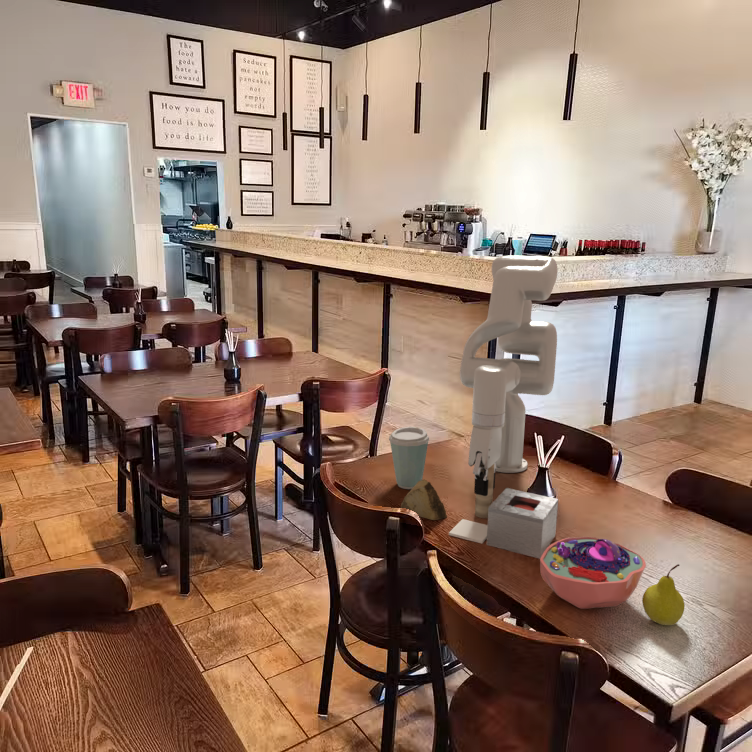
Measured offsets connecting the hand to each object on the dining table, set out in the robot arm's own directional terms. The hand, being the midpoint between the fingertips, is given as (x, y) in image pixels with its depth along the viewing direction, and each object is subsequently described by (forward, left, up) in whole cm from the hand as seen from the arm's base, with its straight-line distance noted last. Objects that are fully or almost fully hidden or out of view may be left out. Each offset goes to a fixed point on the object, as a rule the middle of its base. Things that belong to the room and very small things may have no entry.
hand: (484, 490), depth 158 cm
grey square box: (+8, +12, -6) cm, 16 cm away
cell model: (+24, +30, -7) cm, 39 cm away
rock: (+7, -13, -7) cm, 16 cm away
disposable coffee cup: (-7, -24, -6) cm, 26 cm away
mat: (+10, +1, -6) cm, 12 cm away
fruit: (+25, +43, -7) cm, 50 cm away
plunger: (+8, +12, -2) cm, 15 cm away
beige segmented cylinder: (0, 0, -6) cm, 6 cm away
